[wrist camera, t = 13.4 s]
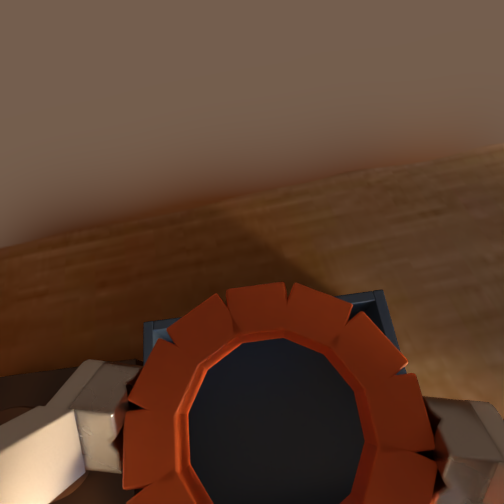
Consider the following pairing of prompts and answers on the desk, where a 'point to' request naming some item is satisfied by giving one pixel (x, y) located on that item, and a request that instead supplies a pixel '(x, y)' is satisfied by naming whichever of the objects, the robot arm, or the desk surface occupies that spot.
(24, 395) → the ring toss
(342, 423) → the bin
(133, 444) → the ring
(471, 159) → the desk surface
